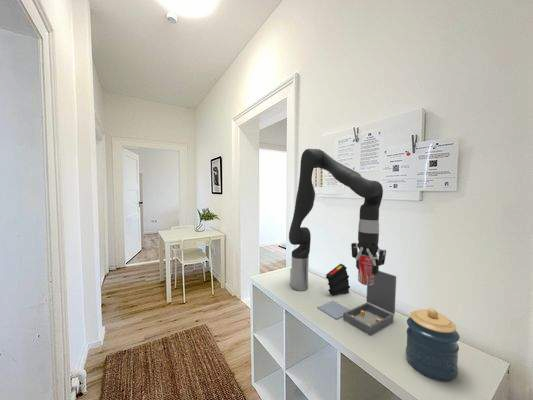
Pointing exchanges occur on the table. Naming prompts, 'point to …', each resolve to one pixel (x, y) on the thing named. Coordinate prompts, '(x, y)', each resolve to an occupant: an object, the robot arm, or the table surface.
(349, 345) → the table surface
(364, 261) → the beverage can
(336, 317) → the rubber mat
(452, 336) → the canister
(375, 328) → the case
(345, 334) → the table surface
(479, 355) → the table surface
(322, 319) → the table surface
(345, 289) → the magazine
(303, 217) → the robot arm
